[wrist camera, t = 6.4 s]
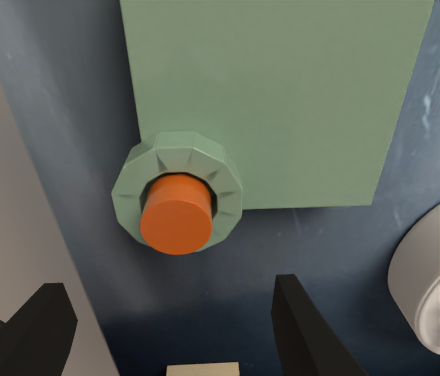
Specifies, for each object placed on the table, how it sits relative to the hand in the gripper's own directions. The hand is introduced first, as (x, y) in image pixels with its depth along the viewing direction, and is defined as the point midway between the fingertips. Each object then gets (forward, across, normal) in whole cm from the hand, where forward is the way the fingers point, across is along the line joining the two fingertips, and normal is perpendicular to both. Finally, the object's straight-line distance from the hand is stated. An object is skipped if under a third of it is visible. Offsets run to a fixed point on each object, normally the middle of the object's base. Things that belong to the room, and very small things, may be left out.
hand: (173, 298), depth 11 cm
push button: (+5, 0, -1) cm, 5 cm away
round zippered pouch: (+10, -24, +10) cm, 28 cm away
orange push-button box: (+10, -4, -5) cm, 12 cm away
